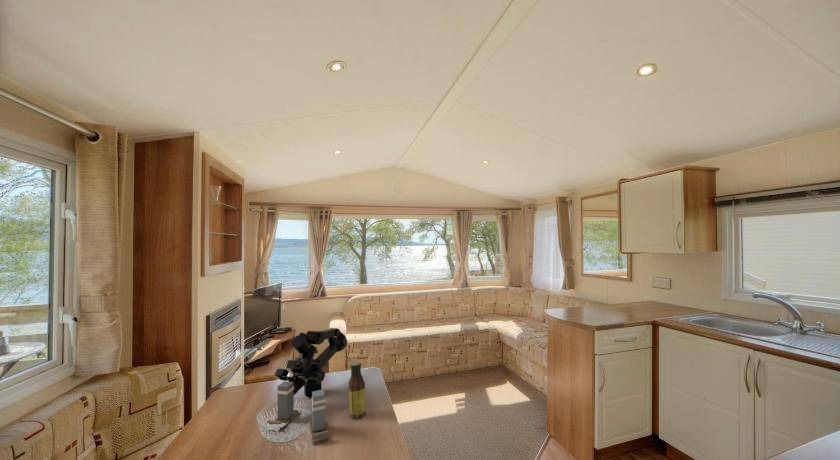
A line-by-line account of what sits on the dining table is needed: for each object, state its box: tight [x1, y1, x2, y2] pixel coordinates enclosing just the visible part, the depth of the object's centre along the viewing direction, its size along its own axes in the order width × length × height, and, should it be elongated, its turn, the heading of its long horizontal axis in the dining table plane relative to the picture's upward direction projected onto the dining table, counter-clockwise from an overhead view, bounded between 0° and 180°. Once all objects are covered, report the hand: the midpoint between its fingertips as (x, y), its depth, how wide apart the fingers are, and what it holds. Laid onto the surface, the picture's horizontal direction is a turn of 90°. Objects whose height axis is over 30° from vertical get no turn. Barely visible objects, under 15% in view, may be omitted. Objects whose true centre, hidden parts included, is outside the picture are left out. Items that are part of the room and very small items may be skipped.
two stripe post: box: [311, 389, 326, 432], centre depth 109 cm, size 4×4×12 cm
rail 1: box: [266, 409, 300, 424], centre depth 114 cm, size 12×5×3 cm, turn 168°
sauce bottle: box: [348, 361, 367, 420], centre depth 118 cm, size 6×6×20 cm
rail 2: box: [310, 421, 329, 446], centre depth 107 cm, size 12×5×3 cm, turn 23°
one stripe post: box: [276, 381, 295, 420], centre depth 116 cm, size 4×4×12 cm
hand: (289, 398), depth 118 cm, fingers closed, pressing on one stripe post
